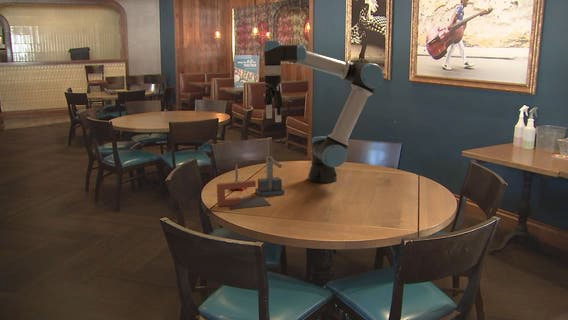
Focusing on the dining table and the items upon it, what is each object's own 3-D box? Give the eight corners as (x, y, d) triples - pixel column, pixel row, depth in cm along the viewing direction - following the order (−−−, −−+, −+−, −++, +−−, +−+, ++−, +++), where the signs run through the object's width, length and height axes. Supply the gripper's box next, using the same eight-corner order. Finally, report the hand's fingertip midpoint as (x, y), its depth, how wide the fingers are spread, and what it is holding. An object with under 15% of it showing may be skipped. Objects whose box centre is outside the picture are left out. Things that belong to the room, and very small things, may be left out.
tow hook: (232, 186, 248) (227, 190, 239) (232, 161, 246) (227, 164, 237) (248, 187, 247) (244, 191, 238) (248, 161, 245) (244, 165, 236)
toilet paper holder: (279, 190, 239) (279, 154, 235) (292, 201, 221) (292, 163, 217) (255, 192, 236) (254, 156, 232) (267, 204, 217) (266, 165, 213)
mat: (262, 196, 228) (262, 196, 228) (270, 205, 215) (270, 204, 215) (224, 200, 223) (224, 199, 223) (230, 209, 210) (230, 208, 210)
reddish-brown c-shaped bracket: (254, 180, 219) (216, 183, 214) (255, 181, 217) (217, 185, 211) (254, 200, 221) (217, 204, 216) (255, 202, 219) (218, 206, 214)
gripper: (257, 74, 238) (258, 117, 242) (273, 76, 215) (274, 124, 220) (271, 73, 240) (272, 116, 245) (289, 75, 217) (290, 123, 222)
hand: (273, 120), depth 232 cm, fingers open, 13 cm apart
